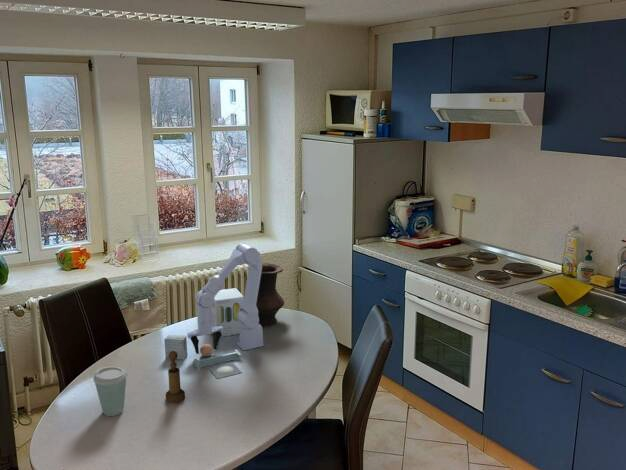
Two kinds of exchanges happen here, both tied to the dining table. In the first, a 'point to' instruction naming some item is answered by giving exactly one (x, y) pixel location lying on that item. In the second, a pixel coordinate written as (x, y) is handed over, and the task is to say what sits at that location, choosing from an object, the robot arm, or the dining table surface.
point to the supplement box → (227, 311)
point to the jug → (268, 295)
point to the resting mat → (225, 370)
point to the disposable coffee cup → (111, 389)
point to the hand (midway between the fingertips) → (206, 351)
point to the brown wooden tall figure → (174, 382)
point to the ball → (206, 350)
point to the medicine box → (176, 345)
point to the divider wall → (217, 359)
